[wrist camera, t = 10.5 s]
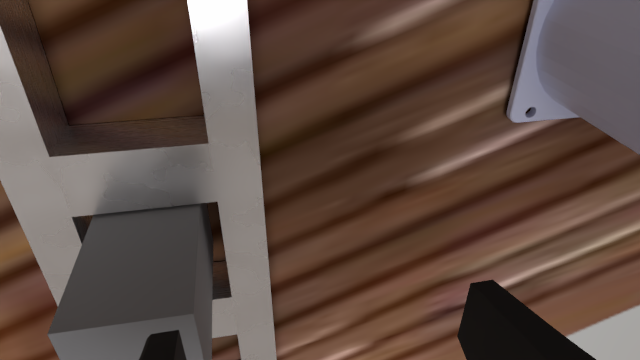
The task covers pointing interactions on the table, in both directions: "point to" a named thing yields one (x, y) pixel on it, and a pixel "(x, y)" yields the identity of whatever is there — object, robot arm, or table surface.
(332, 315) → the table surface
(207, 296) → the square peg
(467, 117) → the table surface
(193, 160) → the hole rail
